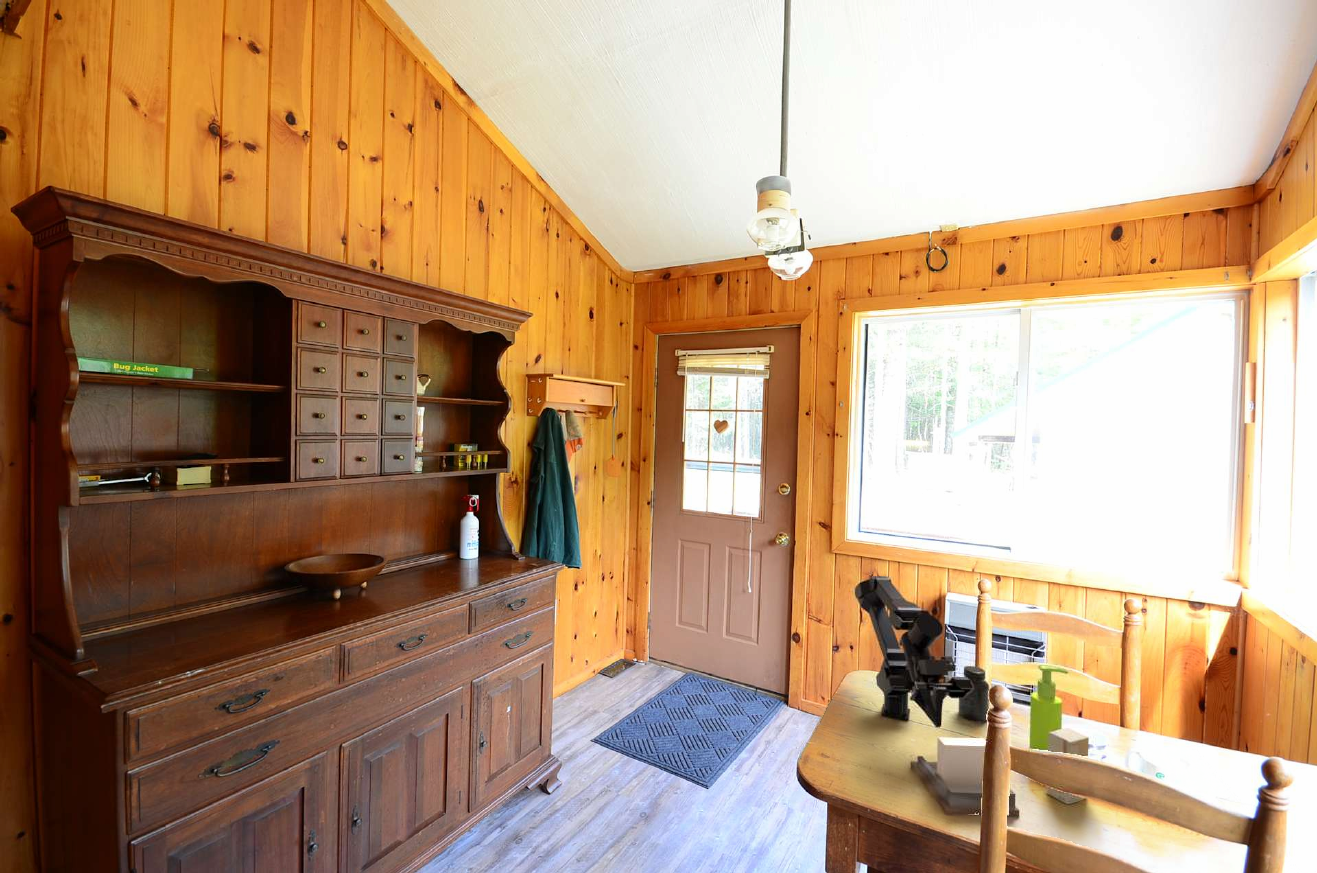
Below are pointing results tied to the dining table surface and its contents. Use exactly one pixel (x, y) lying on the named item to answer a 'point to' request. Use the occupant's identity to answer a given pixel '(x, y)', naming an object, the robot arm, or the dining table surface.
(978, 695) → the supplement bottle
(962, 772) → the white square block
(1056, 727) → the soap dispenser
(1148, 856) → the dining table surface
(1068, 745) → the skincare box
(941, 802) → the press base
